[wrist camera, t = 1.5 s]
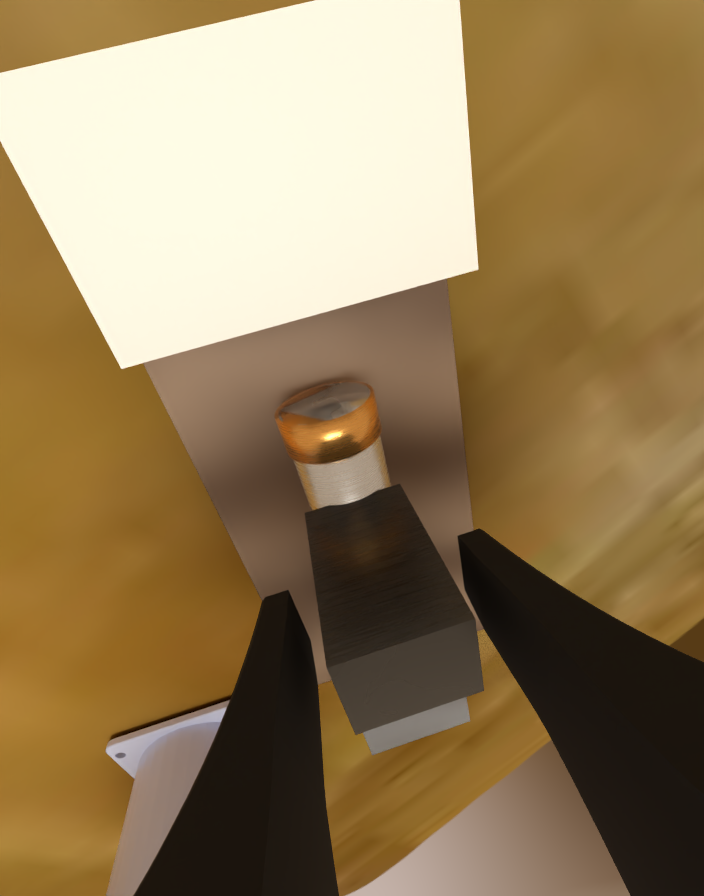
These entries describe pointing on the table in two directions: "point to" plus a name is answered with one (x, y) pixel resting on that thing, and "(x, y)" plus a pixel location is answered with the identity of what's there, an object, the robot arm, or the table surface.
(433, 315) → the track base
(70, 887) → the table surface
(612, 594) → the table surface
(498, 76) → the table surface
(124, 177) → the socket block
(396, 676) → the dark grey angular piece
